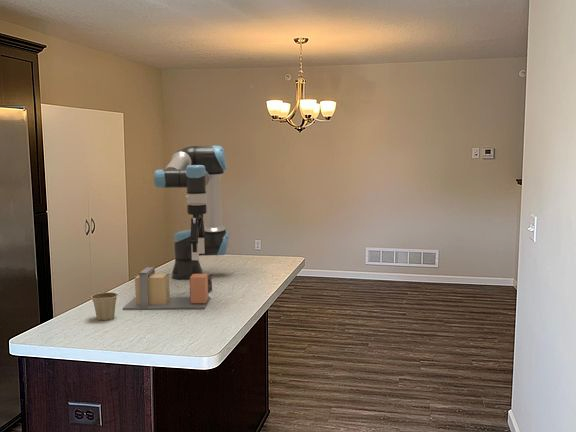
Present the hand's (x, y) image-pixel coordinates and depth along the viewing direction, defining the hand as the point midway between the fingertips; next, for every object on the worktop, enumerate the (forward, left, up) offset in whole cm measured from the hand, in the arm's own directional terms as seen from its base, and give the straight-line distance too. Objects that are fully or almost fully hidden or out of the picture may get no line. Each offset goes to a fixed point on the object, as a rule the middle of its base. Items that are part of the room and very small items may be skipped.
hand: (198, 256), depth 222 cm
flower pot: (+19, -32, -20) cm, 42 cm away
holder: (0, -13, -19) cm, 23 cm away
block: (0, 0, -18) cm, 18 cm away
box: (-21, -2, -20) cm, 29 cm away
